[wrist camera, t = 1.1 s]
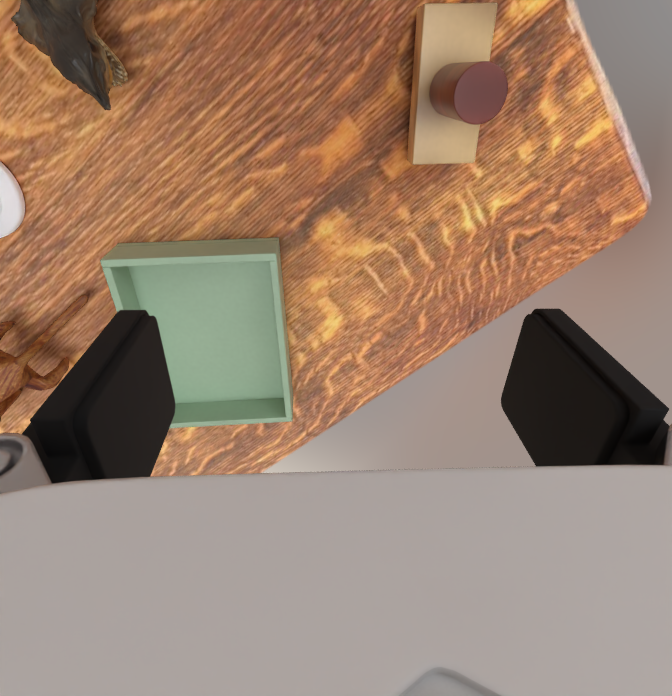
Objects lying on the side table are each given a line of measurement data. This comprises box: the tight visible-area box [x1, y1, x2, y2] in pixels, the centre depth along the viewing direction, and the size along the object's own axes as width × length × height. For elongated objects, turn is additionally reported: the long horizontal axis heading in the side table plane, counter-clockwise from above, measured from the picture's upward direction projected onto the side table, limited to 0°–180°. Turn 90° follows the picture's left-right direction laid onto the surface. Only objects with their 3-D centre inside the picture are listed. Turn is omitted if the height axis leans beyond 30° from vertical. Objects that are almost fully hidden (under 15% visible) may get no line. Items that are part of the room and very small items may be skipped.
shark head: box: [11, 0, 128, 110], centre depth 25 cm, size 8×6×7 cm
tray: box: [100, 238, 293, 428], centre depth 39 cm, size 17×13×4 cm
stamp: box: [407, 2, 508, 165], centre depth 27 cm, size 9×4×9 cm, turn 1°
